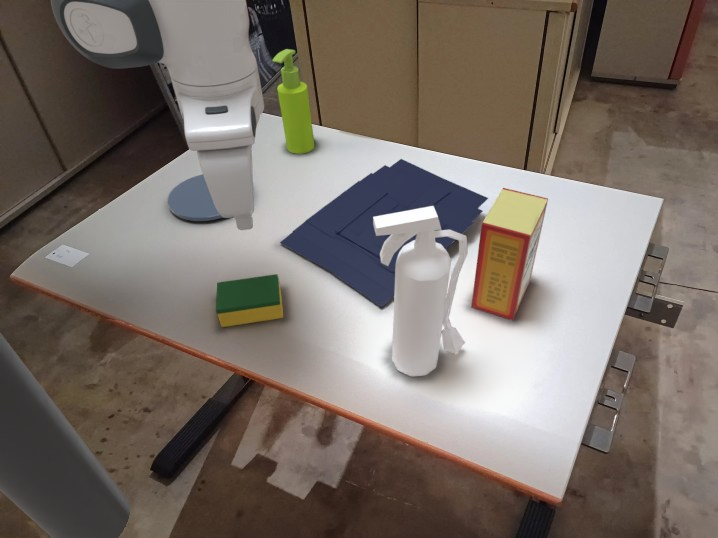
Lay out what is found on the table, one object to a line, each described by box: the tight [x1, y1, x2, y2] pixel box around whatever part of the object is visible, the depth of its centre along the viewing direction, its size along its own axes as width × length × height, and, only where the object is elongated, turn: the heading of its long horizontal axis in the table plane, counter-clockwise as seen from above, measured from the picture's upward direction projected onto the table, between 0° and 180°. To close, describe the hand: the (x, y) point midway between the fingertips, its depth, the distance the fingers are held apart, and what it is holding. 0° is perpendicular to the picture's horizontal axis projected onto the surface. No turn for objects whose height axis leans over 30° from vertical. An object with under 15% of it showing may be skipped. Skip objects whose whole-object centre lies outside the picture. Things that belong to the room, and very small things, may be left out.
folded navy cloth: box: [279, 158, 489, 308], centre depth 96 cm, size 24×30×4 cm
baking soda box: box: [470, 187, 549, 321], centre depth 80 cm, size 10×6×16 cm
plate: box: [167, 173, 224, 222], centre depth 104 cm, size 15×15×1 cm
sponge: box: [215, 273, 284, 328], centre depth 82 cm, size 9×6×4 cm, turn 102°
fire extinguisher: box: [373, 206, 468, 377], centre depth 68 cm, size 7×12×25 cm, turn 99°
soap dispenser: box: [271, 48, 316, 155], centre depth 111 cm, size 6×7×20 cm
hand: (245, 203), depth 69 cm, fingers open, 8 cm apart
